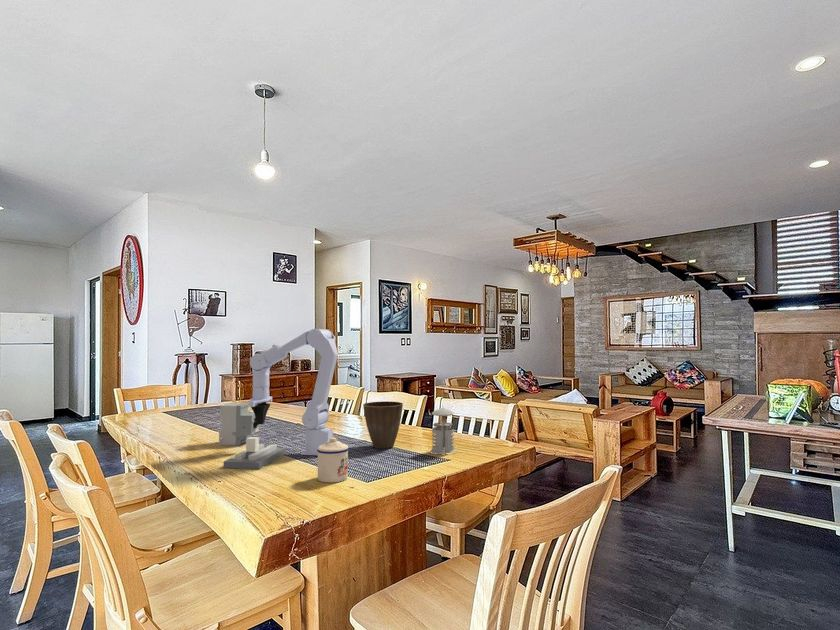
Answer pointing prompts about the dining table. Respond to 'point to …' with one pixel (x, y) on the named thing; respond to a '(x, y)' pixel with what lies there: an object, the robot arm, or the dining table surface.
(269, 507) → the dining table surface
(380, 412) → the plant pot
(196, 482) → the dining table surface
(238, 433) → the circuit breaker
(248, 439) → the lever
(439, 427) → the french press
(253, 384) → the robot arm
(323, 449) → the teacup with lid
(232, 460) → the panel
